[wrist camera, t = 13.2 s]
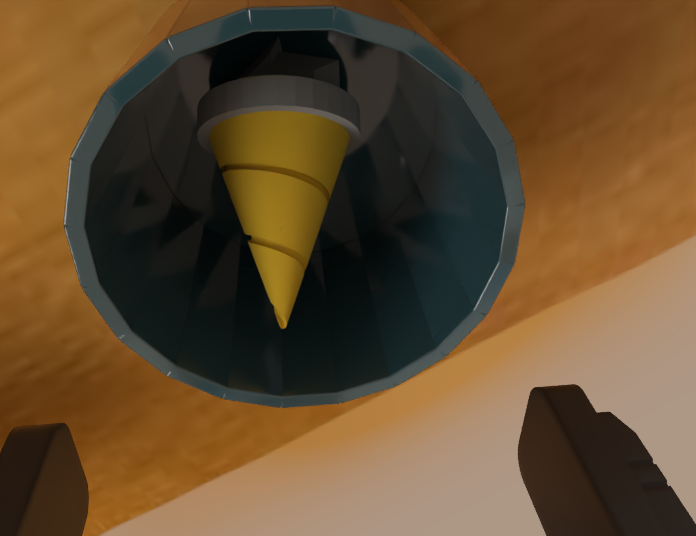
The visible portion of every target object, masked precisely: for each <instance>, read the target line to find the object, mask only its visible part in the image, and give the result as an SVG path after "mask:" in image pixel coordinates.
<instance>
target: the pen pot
mask: <svg viewBox="0 0 696 536" xmlns="http://www.w3.org/2000/svg"><path fill="white" fill-rule="evenodd" d="M278 36H279V40H280V44H281V48H282V52H288V53H295V54H301V55H308V56H315V57H322V58H329V59H336V60H339V79H340V88H341V89H343V90H344V91H346V92H348V93H349V94H350V95H351V96H352V97H353V98H354V99H355V100H356V101H357V103H358V105H359V107H360V131H361V141H360V143H359V145H358V146H357V147H356V148H355V149H354V150H353V151H352V152H351V153H349V154H347V155H346V156H344V159H343V162H342V165H341V168H340V171H339V174H338V177H337V179H336V182H335V185H334V188H333V191H332V194H331V197H330V200H329V203H328V205H327V209H326V212H325V215H324V218H323V221H322V224H321V226H320V229H319V232H318V235H317V238H316V241H315V244H314V247H313V250H312V253H311V256H310V259H309V262H308V265H307V268H306V270H305V271H304V276H303V279H302V282H301V285H300V288H299V291H298V294H297V297H296V300H295V303H294V306H293V309H292V312H291V314H290V317H289V320H288V323H287V326H286V328H282V329H281V328H280V325H279V323H278V320H277V318H276V315H275V312H274V305H273V304H272V303H271V302H270V299H269V297H268V294H267V291H266V289H265V286H264V284H263V281H262V278H261V276H260V273H259V270H258V268H257V265H256V262H255V260H254V257H253V255H252V252H251V249H250V247H249V244H248V240H251V235H247V234H245V233H244V231H243V228H242V226H241V223H240V220H239V218H238V215H237V212H236V210H235V207H234V204H233V202H232V199H231V197H230V194H229V191H228V189H227V186H226V183H225V181H224V178H223V176H222V173H223V172H222V171H221V170H220V168H219V165H218V162H217V160H216V157H215V155H213V154H211V153H209V152H208V151H206V150H205V149H204V148H203V147H202V146H201V145H200V143H199V142H198V138H197V106H198V103H199V101H200V99H201V98H202V97H203V96H204V94H205V93H207V92H208V91H210V90H211V89H213V88H214V87H216V86H219V85H221V84H224V83H226V82H229V81H233V80H237V79H238V78H239V77H240V76H241V75H242V74H243V73H244V72H245V71H246V70H247V69H248V68H249V67H250V66H251V65H252V64H253V62H254V61H255V60H256V59H257V58H258V57H259V56H260V55H261V54H262V53H263V52H264V51H265V50H266V49H267V48H268V47H269V46H270V45H271V44H272V42H273V41H274V40H275V39H276V38H277V37H278ZM524 209H525V197H524V191H523V186H522V180H521V175H520V169H519V164H518V159H517V153H516V148H515V142H514V140H513V137H512V135H511V134H510V132H509V130H508V129H507V127H506V125H505V124H504V122H503V120H502V119H501V117H500V115H499V114H498V112H497V111H496V109H495V107H494V106H493V104H492V102H491V101H490V99H489V97H488V96H487V94H486V92H485V91H484V89H483V88H482V86H481V84H480V83H479V81H478V80H477V79H476V78H475V77H474V76H473V75H472V74H471V72H470V71H469V70H468V69H467V68H466V67H465V66H464V65H463V64H462V63H461V62H460V61H459V60H458V59H457V58H456V57H455V56H454V55H453V54H452V53H451V51H450V50H449V49H448V48H447V47H446V46H445V45H444V44H443V43H442V42H441V41H440V40H439V39H438V38H437V37H436V36H435V35H434V34H433V33H432V32H431V30H430V29H429V28H428V27H427V26H426V25H425V24H424V23H423V22H422V21H421V20H420V19H419V18H418V17H417V16H416V15H415V14H414V13H413V12H412V11H411V9H410V8H408V7H407V6H406V5H405V4H403V3H402V2H401V1H400V0H178V1H177V2H176V3H175V4H173V5H172V6H171V7H170V8H169V9H168V10H167V11H165V12H164V13H163V14H162V16H161V17H160V18H159V20H158V21H157V22H156V24H155V25H154V26H153V28H152V29H151V30H150V32H149V33H148V34H147V35H146V37H145V38H144V39H143V41H142V42H141V43H140V45H139V46H138V47H137V49H136V50H135V51H134V53H133V54H132V55H131V57H130V58H129V59H128V61H127V62H126V63H125V65H124V66H123V67H122V69H121V70H120V71H119V72H118V74H117V75H116V76H115V78H114V79H113V80H112V82H111V83H110V84H109V86H108V87H107V88H106V90H105V91H104V92H103V94H102V96H101V98H100V100H99V102H98V103H97V105H96V107H95V109H94V111H93V113H92V115H91V117H90V119H89V121H88V123H87V125H86V126H85V128H84V130H83V132H82V134H81V136H80V138H79V140H78V142H77V144H76V146H75V148H74V149H73V151H72V153H71V158H70V159H69V170H68V180H67V191H66V202H65V212H64V229H65V232H66V236H67V239H68V243H69V246H70V250H71V253H72V257H73V260H74V264H75V267H76V271H77V274H78V278H79V281H80V285H81V287H82V289H83V291H84V292H85V293H86V295H87V296H88V298H89V299H90V300H91V302H92V303H93V305H94V306H95V308H96V309H97V310H98V312H99V313H100V315H101V316H102V317H103V319H104V320H105V322H106V323H107V324H108V326H109V327H110V329H111V330H112V331H113V333H114V334H115V336H116V337H117V338H118V339H119V340H120V341H121V342H123V343H124V344H125V345H126V346H128V347H129V348H130V349H132V350H133V351H134V352H136V353H137V354H138V355H140V356H141V357H142V358H143V359H145V360H146V361H147V362H149V363H150V364H151V365H153V366H154V367H155V368H156V369H158V370H159V371H160V372H162V373H163V374H164V375H167V376H168V377H170V378H173V379H175V380H178V381H180V382H182V383H185V384H187V385H190V386H192V387H194V388H197V389H199V390H202V391H204V392H206V393H209V394H211V395H214V396H216V397H219V398H223V399H226V400H232V401H239V402H245V403H252V404H258V405H265V406H271V407H277V408H280V407H282V408H289V407H302V406H316V405H330V404H339V403H344V402H347V401H351V400H354V399H357V398H360V397H364V396H367V395H370V394H373V393H377V392H380V391H383V390H386V389H389V388H393V387H395V386H398V385H399V384H401V383H403V382H404V381H406V380H408V379H410V378H411V377H413V376H415V375H416V374H418V373H420V372H421V371H423V370H425V369H426V368H428V367H430V366H431V365H433V364H435V363H436V362H438V361H440V360H442V359H443V358H445V357H446V356H447V355H449V353H450V352H451V351H452V350H453V349H454V348H455V347H456V346H457V345H458V344H459V343H460V342H461V341H462V340H463V339H464V338H465V337H466V336H467V335H468V334H469V333H470V332H471V331H472V330H473V329H474V328H475V327H476V326H477V325H478V324H479V323H480V322H481V321H482V320H483V319H484V318H485V317H486V315H487V314H488V313H489V311H490V309H491V307H492V305H493V304H494V302H495V300H496V298H497V296H498V294H499V292H500V291H501V289H502V287H503V285H504V283H505V281H506V279H507V278H508V276H509V274H510V272H511V270H512V268H513V266H514V263H515V261H516V255H517V250H518V244H519V238H520V232H521V226H522V221H523V215H524Z"/></svg>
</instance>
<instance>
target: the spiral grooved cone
mask: <svg viewBox="0 0 696 536" xmlns="http://www.w3.org/2000/svg"><path fill="white" fill-rule="evenodd" d="M197 138H198V142H199V143H200V145H201V146H202V147H203V148H204V149H205V150H206V151H208V152H209V153H211V154H213V155H215V157H216V160H217V162H218V165H219V168H220V170H221V171H222V172H223V173H222V176H223V178H224V181H225V183H226V186H227V189H228V191H229V194H230V197H231V199H232V202H233V204H234V207H235V210H236V212H237V215H238V218H239V220H240V223H241V226H242V228H243V231H244V233H245V234H247V235H251V240H248V244H249V247H250V249H251V252H252V255H253V257H254V260H255V262H256V265H257V268H258V270H259V273H260V276H261V278H262V281H263V284H264V286H265V289H266V291H267V294H268V297H269V299H270V302H271V303H272V304H273V305H274V312H275V315H276V318H277V320H278V323H279V325H280V328H281V329H282V328H286V326H287V323H288V320H289V317H290V314H291V312H292V309H293V306H294V303H295V300H296V297H297V294H298V291H299V288H300V285H301V282H302V279H303V276H304V271H305V270H306V268H307V265H308V262H309V259H310V256H311V253H312V250H313V247H314V244H315V241H316V238H317V235H318V232H319V229H320V226H321V224H322V221H323V218H324V215H325V212H326V209H327V205H328V203H329V200H330V197H331V194H332V191H333V188H334V185H335V182H336V179H337V177H338V174H339V171H340V168H341V165H342V162H343V159H344V156H346V155H347V154H349V153H351V152H352V151H353V150H354V149H355V148H356V147H357V146H358V145H359V143H360V141H361V131H360V107H359V105H358V103H357V101H356V100H355V99H354V98H353V97H352V96H351V95H350V94H349V93H348V92H346V91H344V90H343V89H341V88H340V79H339V60H336V59H329V58H322V57H315V56H308V55H301V54H295V53H288V52H282V48H281V44H280V40H279V36H278V37H277V38H276V39H275V40H274V41H273V42H272V44H271V45H270V46H269V47H268V48H267V49H266V50H265V51H264V52H263V53H262V54H261V55H260V56H259V57H258V58H257V59H256V60H255V61H254V62H253V64H252V65H251V66H250V67H249V68H248V69H247V70H246V71H245V72H244V73H243V74H242V75H241V76H240V77H239V78H238V79H237V80H233V81H229V82H226V83H224V84H221V85H219V86H216V87H214V88H213V89H211V90H210V91H208V92H207V93H205V94H204V96H203V97H202V98H201V99H200V101H199V103H198V106H197Z"/></svg>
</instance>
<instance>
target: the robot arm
mask: <svg viewBox="0 0 696 536" xmlns="http://www.w3.org/2000/svg"><path fill="white" fill-rule="evenodd" d="M518 461H519V467H520V472H521V475H522V479H523V481H524V484H525V486H526V488H527V491H528V493H529V495H530V498H531V500H532V502H533V505H534V507H535V510H536V512H537V514H538V517H539V519H540V521H541V524H542V526H543V529H544V531H545V533H546V536H696V524H695V523H694V521H693V519H692V518H691V516H690V515H689V513H688V512H687V510H686V509H685V507H684V506H683V504H682V503H681V501H680V500H679V498H678V497H677V495H676V494H675V492H674V490H673V489H672V487H671V486H668V485H667V480H666V478H665V477H664V475H663V474H662V472H661V471H660V469H659V468H658V466H657V465H656V464H653V459H652V457H651V456H650V454H649V453H648V451H647V449H646V448H645V446H644V445H643V443H642V442H641V440H640V439H639V437H638V436H637V434H636V433H635V432H634V431H633V430H631V429H630V428H629V427H628V426H627V425H625V424H624V423H623V422H622V421H621V420H619V419H618V418H617V417H616V416H615V415H613V414H612V413H611V412H600V413H596V411H595V409H594V408H593V406H592V404H591V403H590V402H589V400H588V398H587V396H586V395H585V393H584V391H583V390H582V389H581V388H580V387H579V386H578V385H575V384H572V385H559V386H547V387H535V388H533V389H532V391H531V392H530V396H529V400H528V404H527V409H526V413H525V417H524V422H523V426H522V431H521V435H520V440H519V445H518ZM88 503H89V493H88V484H87V480H86V477H85V474H84V471H83V468H82V465H81V462H80V459H79V456H78V453H77V451H76V448H75V445H74V442H73V439H72V436H71V433H70V430H69V428H68V426H67V425H66V424H65V423H56V424H43V425H31V426H18V427H15V428H13V429H12V430H11V432H10V433H9V435H8V437H7V439H6V441H5V444H4V446H3V448H2V450H1V453H0V536H82V534H83V530H84V526H85V523H86V518H87V513H88Z"/></svg>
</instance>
